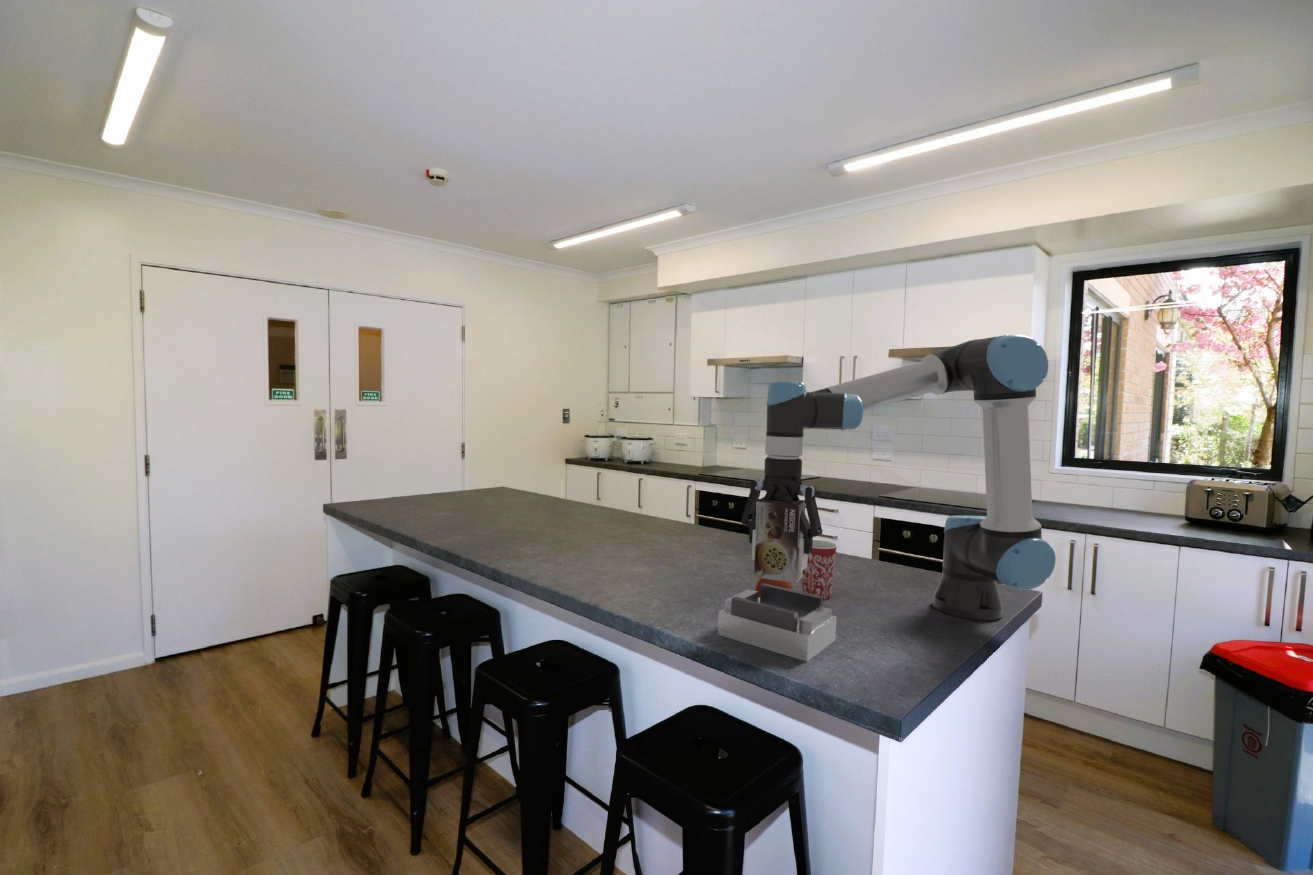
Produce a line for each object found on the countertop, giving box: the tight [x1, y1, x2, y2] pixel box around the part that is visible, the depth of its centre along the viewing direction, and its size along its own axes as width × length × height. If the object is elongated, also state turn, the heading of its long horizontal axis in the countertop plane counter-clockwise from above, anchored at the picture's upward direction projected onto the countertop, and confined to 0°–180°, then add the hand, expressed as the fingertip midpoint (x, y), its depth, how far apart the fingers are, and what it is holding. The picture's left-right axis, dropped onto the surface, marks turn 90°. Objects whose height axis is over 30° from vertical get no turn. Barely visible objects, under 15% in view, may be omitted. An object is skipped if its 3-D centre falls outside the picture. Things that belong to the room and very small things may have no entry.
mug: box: [801, 539, 838, 601], centre depth 157 cm, size 13×9×14 cm
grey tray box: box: [717, 583, 837, 663], centre depth 128 cm, size 20×14×8 cm
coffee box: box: [753, 496, 806, 584], centre depth 127 cm, size 9×6×16 cm
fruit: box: [754, 578, 794, 598], centre depth 148 cm, size 9×9×8 cm
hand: (778, 563), depth 127 cm, fingers closed on coffee box, 10 cm apart
